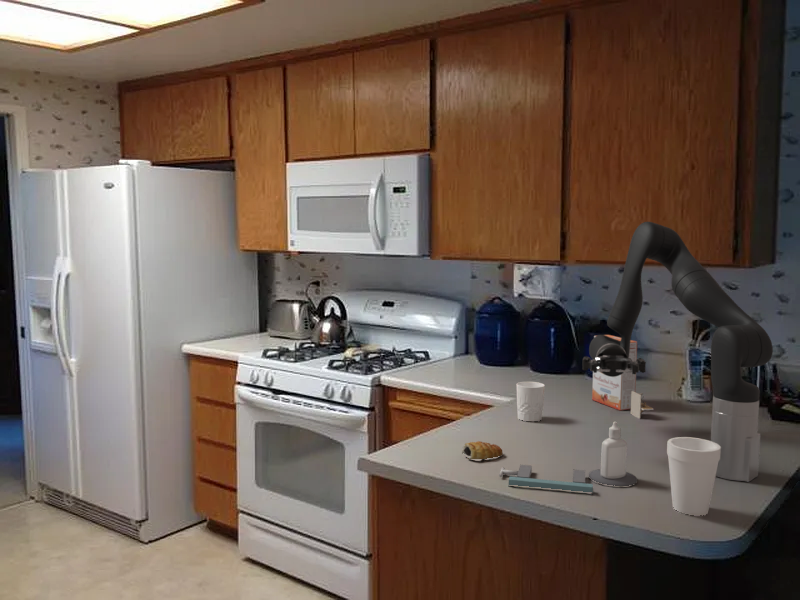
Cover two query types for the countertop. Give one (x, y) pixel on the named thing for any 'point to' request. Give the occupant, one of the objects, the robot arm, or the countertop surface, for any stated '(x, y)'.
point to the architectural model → (638, 404)
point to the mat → (624, 481)
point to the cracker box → (615, 384)
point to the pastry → (481, 450)
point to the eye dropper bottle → (614, 454)
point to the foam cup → (692, 473)
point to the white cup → (530, 400)
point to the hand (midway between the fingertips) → (614, 369)
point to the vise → (525, 480)
